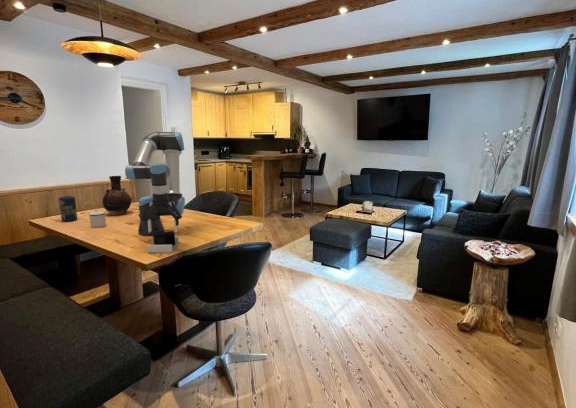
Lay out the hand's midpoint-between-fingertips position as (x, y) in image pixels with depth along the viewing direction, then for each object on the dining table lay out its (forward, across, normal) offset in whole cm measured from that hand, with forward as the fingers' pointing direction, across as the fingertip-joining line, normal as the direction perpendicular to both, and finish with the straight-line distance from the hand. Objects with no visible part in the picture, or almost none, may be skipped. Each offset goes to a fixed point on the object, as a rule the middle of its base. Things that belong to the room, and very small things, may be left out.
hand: (163, 231), depth 171 cm
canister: (+11, -83, +63) cm, 105 cm away
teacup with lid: (+11, -57, +47) cm, 75 cm away
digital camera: (+8, 0, 0) cm, 8 cm away
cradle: (+9, 0, -1) cm, 9 cm away
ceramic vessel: (+11, -57, +81) cm, 100 cm away
